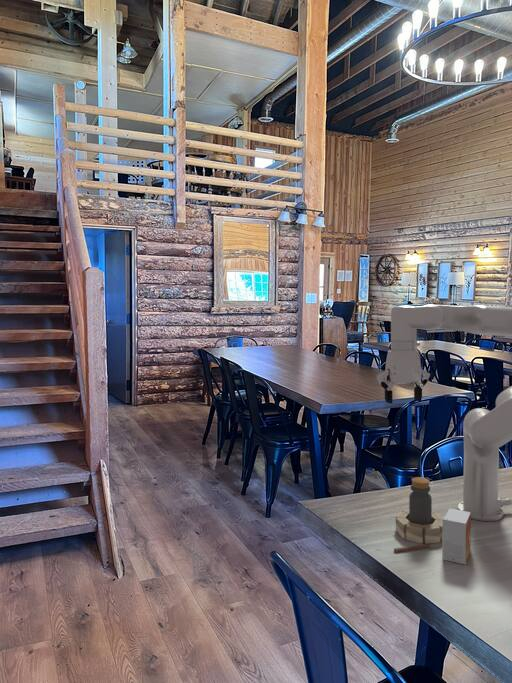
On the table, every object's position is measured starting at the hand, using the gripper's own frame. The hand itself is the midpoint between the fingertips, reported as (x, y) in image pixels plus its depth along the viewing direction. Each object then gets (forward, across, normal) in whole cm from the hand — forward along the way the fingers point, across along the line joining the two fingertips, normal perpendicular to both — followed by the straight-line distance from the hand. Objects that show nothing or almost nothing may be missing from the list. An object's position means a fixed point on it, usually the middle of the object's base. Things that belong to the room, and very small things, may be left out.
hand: (403, 401), depth 154 cm
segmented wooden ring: (+33, +4, +17) cm, 38 cm away
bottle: (+34, +4, +17) cm, 38 cm away
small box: (+34, +2, +30) cm, 45 cm away
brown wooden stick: (+33, +11, +25) cm, 43 cm away
